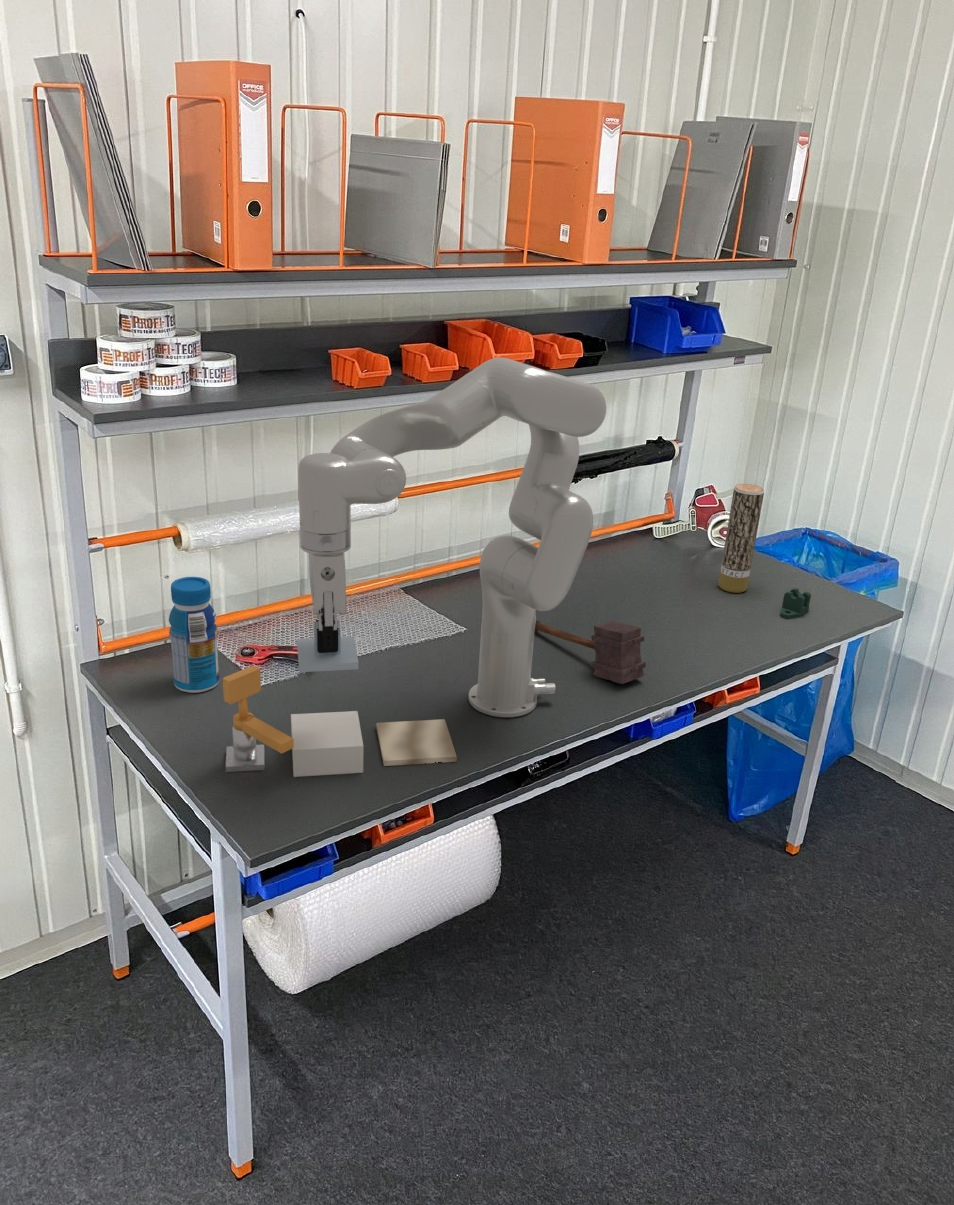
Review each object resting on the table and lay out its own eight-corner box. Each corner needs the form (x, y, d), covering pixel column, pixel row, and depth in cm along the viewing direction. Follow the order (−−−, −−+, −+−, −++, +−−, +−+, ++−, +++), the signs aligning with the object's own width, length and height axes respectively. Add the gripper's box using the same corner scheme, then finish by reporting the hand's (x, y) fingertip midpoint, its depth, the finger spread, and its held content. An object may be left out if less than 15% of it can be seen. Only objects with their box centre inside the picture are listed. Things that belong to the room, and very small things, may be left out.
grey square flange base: (264, 749, 168) (263, 715, 165) (264, 769, 162) (263, 734, 160) (226, 751, 166) (225, 717, 164) (225, 772, 161) (223, 736, 158)
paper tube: (724, 580, 247) (741, 481, 237) (751, 588, 244) (769, 488, 234) (713, 588, 242) (729, 488, 232) (740, 596, 239) (757, 494, 228)
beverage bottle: (164, 690, 184) (156, 588, 175) (186, 669, 191) (180, 571, 183) (207, 697, 182) (201, 595, 174) (228, 676, 190) (223, 577, 181)
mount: (792, 622, 227) (796, 602, 225) (773, 616, 230) (777, 595, 228) (813, 609, 235) (818, 589, 233) (796, 603, 237) (800, 583, 235)
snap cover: (353, 643, 165) (353, 611, 162) (358, 669, 156) (358, 636, 154) (297, 645, 163) (296, 613, 160) (299, 672, 155) (298, 638, 152)
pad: (444, 724, 178) (444, 719, 178) (456, 761, 167) (456, 756, 167) (376, 727, 176) (376, 722, 175) (383, 765, 165) (383, 760, 165)
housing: (357, 736, 173) (357, 711, 171) (363, 772, 163) (363, 745, 161) (291, 740, 171) (290, 714, 169) (293, 776, 161) (293, 749, 159)
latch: (302, 743, 158) (301, 690, 154) (272, 758, 154) (270, 704, 150) (252, 715, 165) (250, 663, 161) (222, 728, 160) (219, 676, 157)
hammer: (623, 685, 192) (621, 634, 189) (510, 651, 217) (507, 606, 214) (647, 676, 196) (645, 626, 193) (533, 644, 221) (531, 599, 218)
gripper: (355, 556, 145) (355, 670, 153) (346, 518, 159) (347, 624, 167) (302, 558, 143) (305, 673, 151) (298, 519, 158) (301, 626, 165)
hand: (327, 646), depth 159 cm, fingers closed on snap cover
